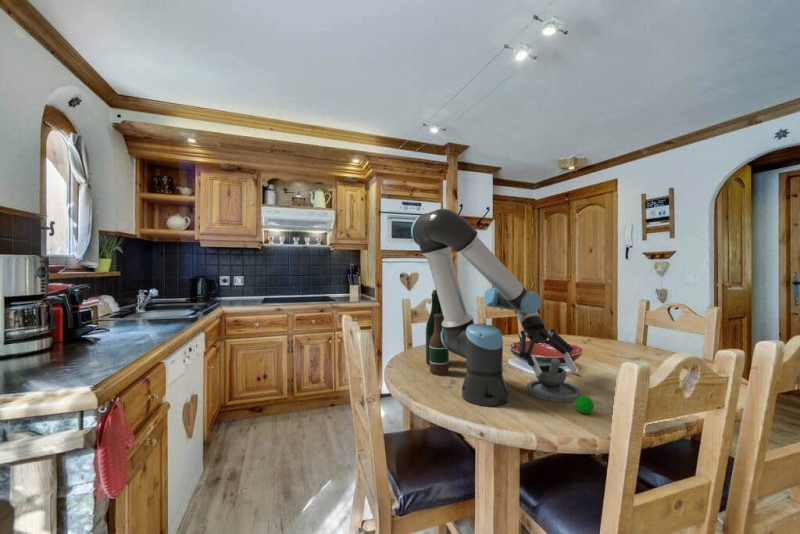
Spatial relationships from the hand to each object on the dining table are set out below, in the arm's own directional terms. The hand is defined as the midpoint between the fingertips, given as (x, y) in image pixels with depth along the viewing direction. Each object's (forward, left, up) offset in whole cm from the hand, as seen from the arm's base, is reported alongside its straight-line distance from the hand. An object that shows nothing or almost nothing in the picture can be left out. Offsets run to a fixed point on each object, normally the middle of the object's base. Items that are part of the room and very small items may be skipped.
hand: (557, 372), depth 112 cm
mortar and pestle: (+1, +3, -7) cm, 8 cm away
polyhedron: (-8, -11, -8) cm, 16 cm away
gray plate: (+1, +2, -7) cm, 8 cm away
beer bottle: (-11, +43, -8) cm, 45 cm away
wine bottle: (-2, +52, -8) cm, 53 cm away
